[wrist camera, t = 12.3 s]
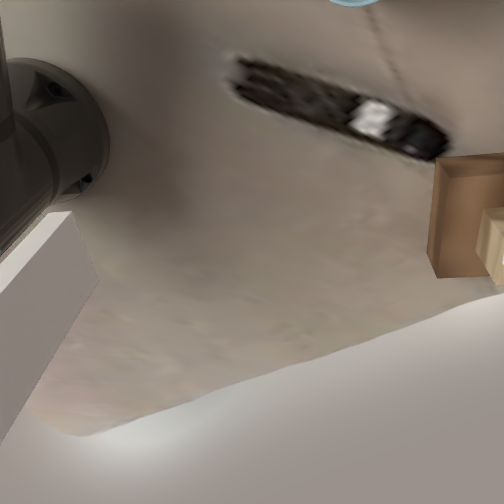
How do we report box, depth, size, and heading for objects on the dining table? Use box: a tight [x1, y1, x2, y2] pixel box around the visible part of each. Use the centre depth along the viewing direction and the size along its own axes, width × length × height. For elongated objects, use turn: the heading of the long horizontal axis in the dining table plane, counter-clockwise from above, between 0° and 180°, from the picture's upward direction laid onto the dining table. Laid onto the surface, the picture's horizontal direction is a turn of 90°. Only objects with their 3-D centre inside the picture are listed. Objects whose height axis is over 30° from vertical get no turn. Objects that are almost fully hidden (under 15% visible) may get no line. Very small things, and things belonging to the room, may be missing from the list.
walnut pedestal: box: [427, 153, 504, 278], centre depth 48 cm, size 12×12×5 cm
